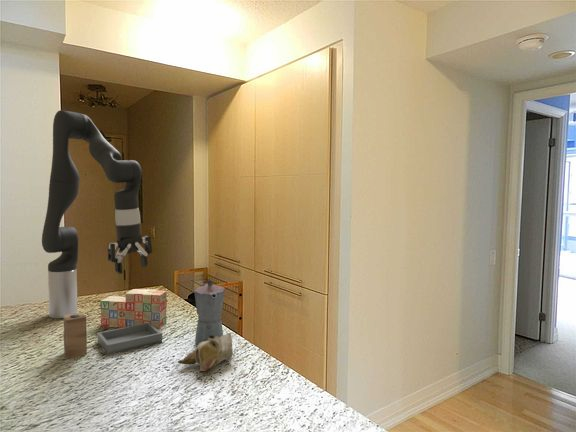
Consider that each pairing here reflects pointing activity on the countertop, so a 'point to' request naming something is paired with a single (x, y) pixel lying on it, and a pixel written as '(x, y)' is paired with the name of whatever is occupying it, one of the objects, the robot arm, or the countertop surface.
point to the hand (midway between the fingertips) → (132, 270)
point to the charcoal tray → (128, 338)
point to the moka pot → (209, 311)
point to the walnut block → (75, 335)
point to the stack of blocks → (135, 309)
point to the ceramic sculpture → (210, 353)
